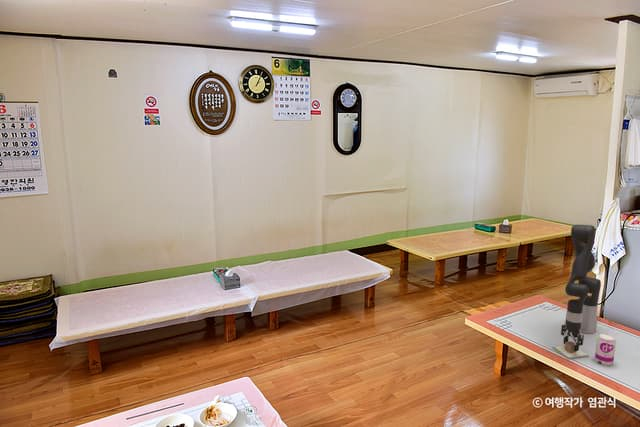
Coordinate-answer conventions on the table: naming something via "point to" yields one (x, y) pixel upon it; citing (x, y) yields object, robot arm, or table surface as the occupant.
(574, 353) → the board
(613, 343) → the supplement can
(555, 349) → the rubber mat
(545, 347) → the table surface
